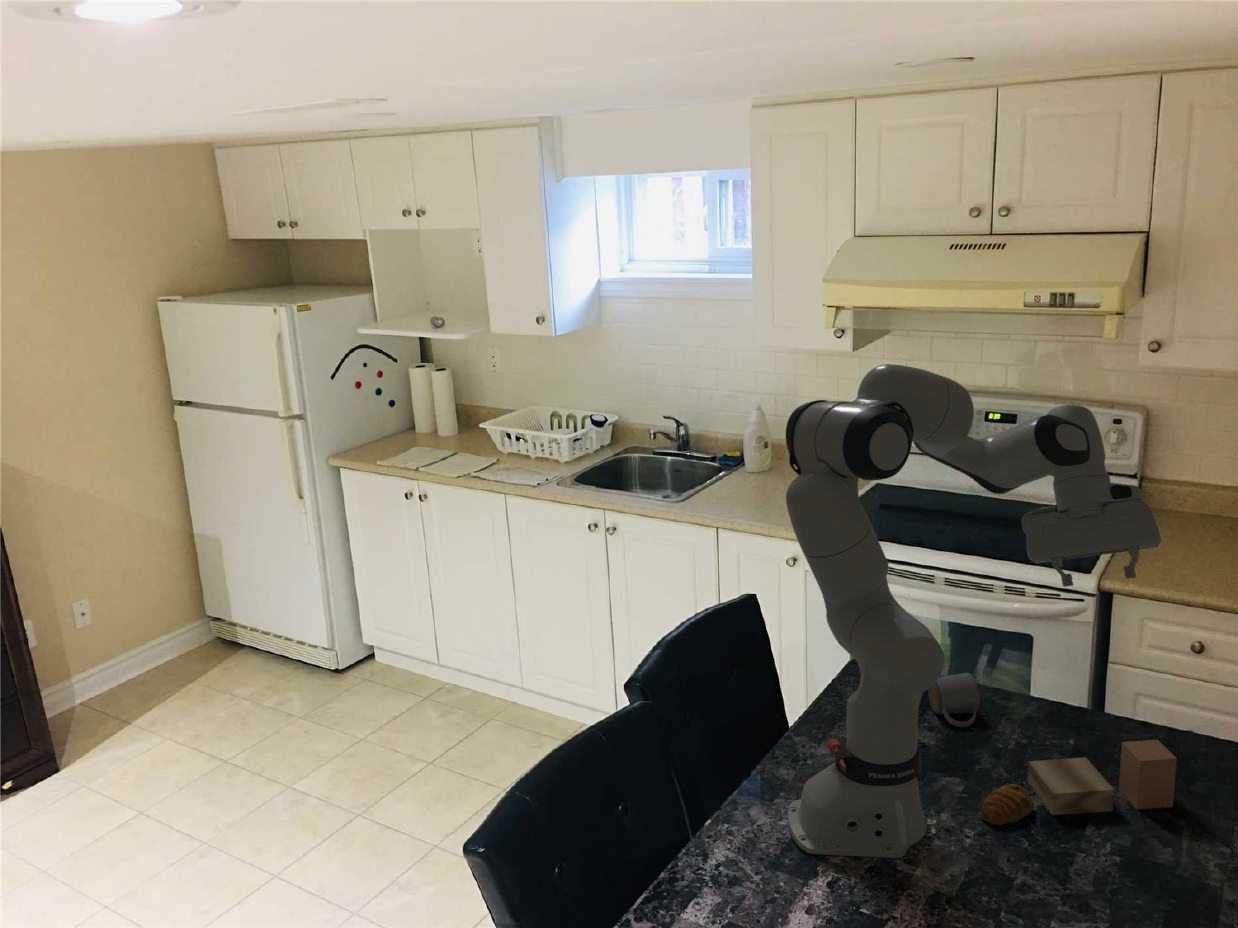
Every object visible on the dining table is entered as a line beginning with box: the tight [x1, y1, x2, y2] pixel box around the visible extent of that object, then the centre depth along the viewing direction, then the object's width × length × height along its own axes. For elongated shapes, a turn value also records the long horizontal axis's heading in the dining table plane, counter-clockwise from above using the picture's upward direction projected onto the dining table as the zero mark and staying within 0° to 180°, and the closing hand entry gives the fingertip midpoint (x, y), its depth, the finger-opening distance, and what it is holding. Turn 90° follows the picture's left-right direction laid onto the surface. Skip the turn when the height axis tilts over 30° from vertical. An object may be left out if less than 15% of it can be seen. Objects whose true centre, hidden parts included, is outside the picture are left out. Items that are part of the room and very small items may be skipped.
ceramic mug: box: [927, 672, 980, 728], centre depth 203 cm, size 11×8×8 cm
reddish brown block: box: [1118, 739, 1177, 810], centre depth 173 cm, size 6×6×9 cm
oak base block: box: [1027, 756, 1115, 816], centre depth 175 cm, size 10×10×4 cm
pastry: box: [980, 783, 1036, 826], centre depth 172 cm, size 9×7×4 cm
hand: (1099, 581), depth 169 cm, fingers open, 8 cm apart
